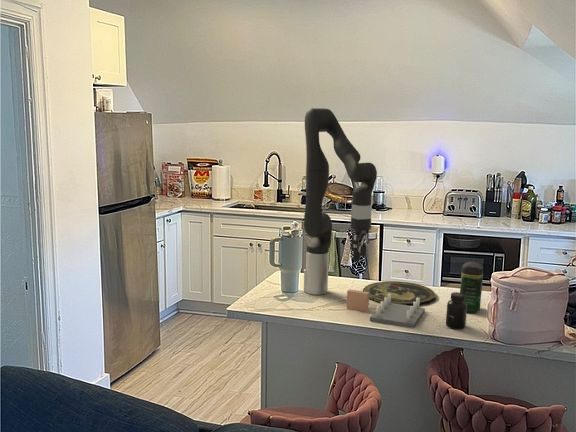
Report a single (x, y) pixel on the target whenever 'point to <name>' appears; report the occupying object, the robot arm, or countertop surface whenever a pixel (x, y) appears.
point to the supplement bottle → (456, 311)
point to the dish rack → (398, 313)
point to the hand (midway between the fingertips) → (359, 258)
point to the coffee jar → (472, 285)
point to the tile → (357, 300)
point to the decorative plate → (400, 293)
